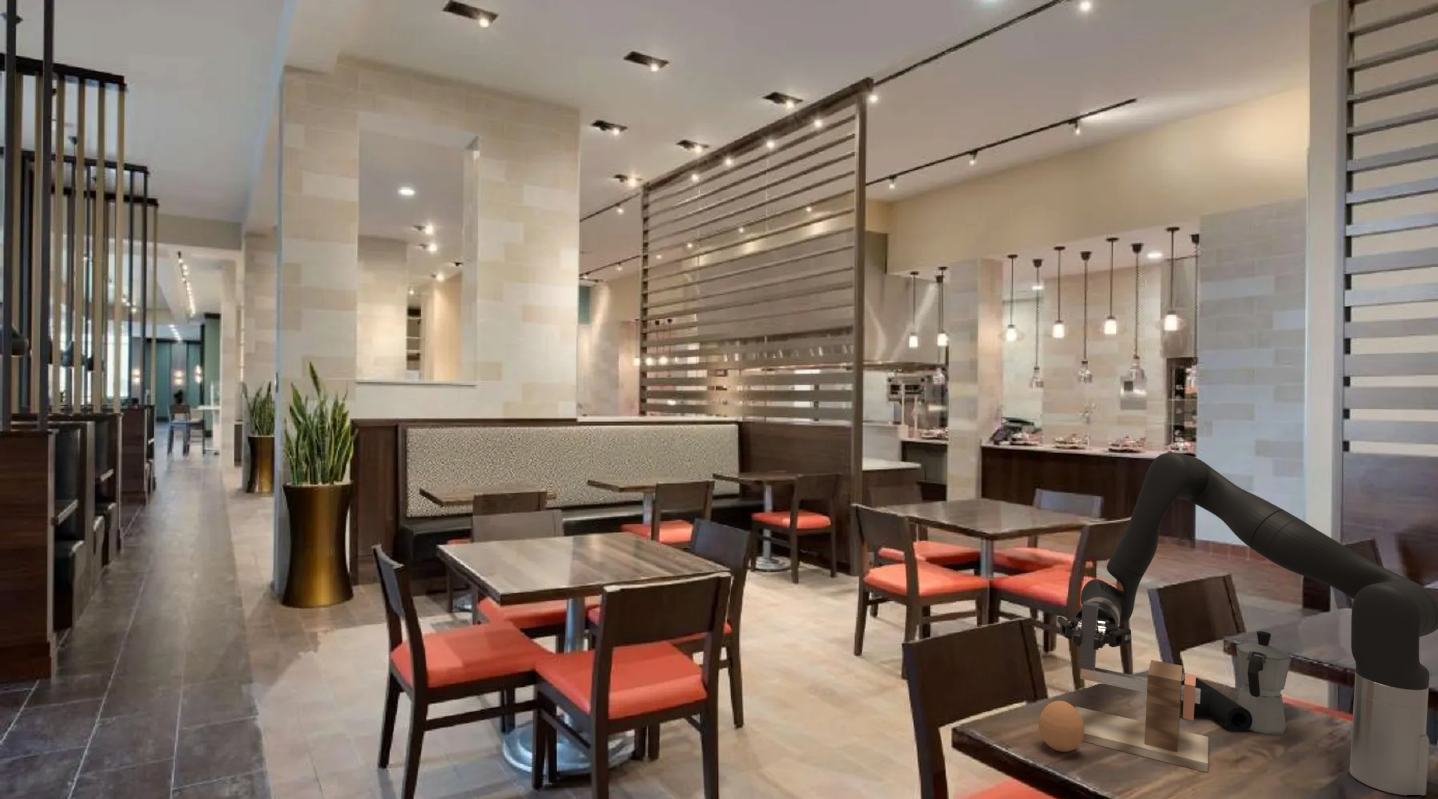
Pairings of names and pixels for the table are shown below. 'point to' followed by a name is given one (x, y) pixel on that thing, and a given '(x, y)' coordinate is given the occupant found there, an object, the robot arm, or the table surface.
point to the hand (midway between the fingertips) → (1086, 642)
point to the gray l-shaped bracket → (1104, 675)
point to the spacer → (1189, 696)
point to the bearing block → (1151, 724)
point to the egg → (1061, 726)
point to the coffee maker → (1263, 684)
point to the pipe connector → (1220, 708)
